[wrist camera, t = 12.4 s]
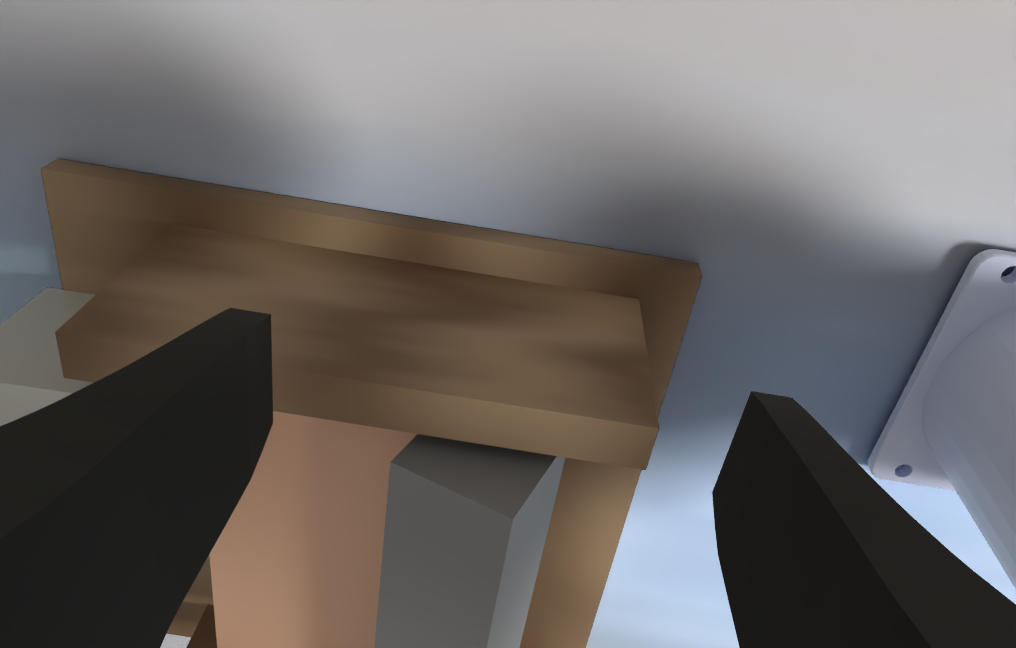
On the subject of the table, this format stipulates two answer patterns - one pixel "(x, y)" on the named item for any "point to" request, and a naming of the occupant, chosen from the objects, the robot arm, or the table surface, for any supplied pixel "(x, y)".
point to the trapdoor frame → (394, 339)
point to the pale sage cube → (36, 354)
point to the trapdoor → (381, 541)
